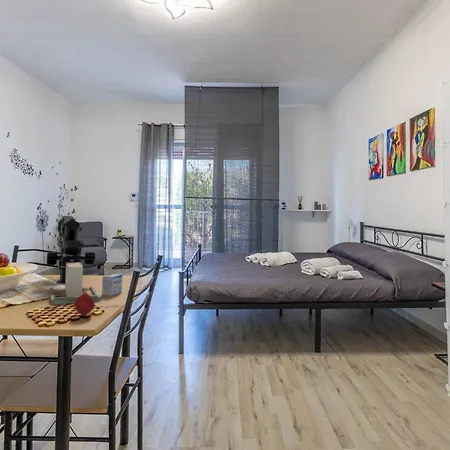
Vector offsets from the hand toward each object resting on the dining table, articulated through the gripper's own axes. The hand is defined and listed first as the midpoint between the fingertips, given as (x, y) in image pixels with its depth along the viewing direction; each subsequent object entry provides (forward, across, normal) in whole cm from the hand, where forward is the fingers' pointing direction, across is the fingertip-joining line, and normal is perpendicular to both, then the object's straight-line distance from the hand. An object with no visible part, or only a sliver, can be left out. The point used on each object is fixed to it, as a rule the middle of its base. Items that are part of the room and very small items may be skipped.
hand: (71, 274), depth 144 cm
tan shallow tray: (+14, 0, -4) cm, 15 cm away
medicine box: (+14, +14, -4) cm, 20 cm away
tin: (+11, 0, -3) cm, 11 cm away
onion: (+31, +1, -21) cm, 38 cm away
